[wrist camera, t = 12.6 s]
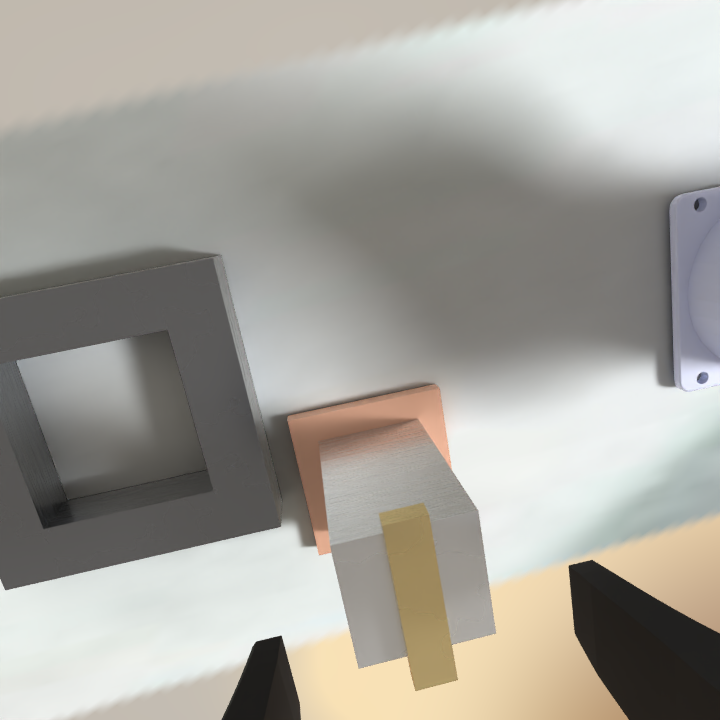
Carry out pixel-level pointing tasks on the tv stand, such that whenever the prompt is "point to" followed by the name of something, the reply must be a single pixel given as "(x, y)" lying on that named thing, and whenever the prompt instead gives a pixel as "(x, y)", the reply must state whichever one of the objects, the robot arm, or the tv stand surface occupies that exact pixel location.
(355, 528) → the steel key
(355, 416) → the terracotta pad
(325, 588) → the tv stand surface
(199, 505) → the charcoal socket
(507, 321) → the tv stand surface
